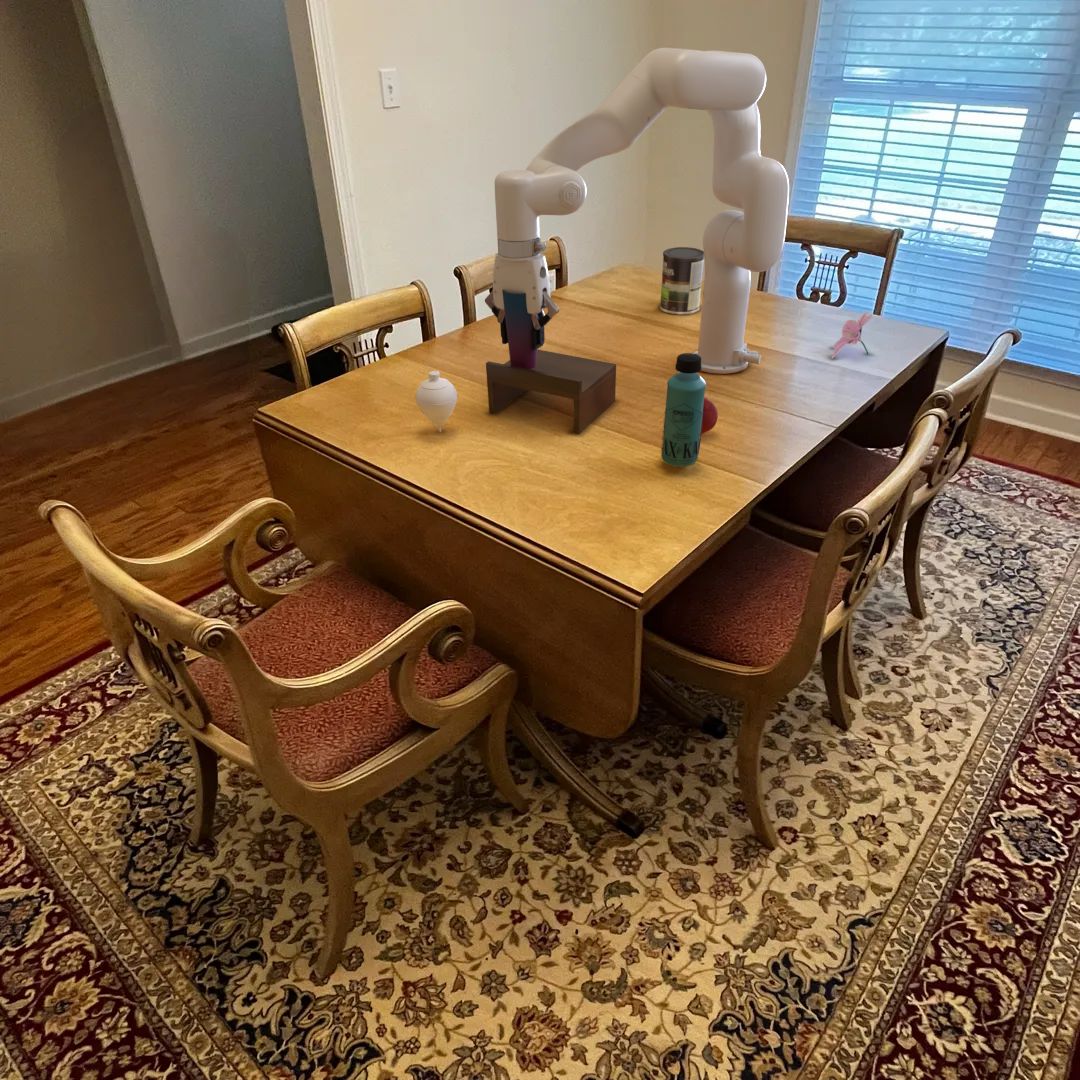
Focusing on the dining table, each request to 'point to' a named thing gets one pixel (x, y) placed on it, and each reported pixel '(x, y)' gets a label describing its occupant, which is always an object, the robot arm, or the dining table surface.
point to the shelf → (556, 384)
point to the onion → (708, 416)
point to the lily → (852, 333)
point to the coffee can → (681, 280)
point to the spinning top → (436, 399)
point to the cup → (519, 331)
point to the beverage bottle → (683, 412)
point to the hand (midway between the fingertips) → (522, 343)
